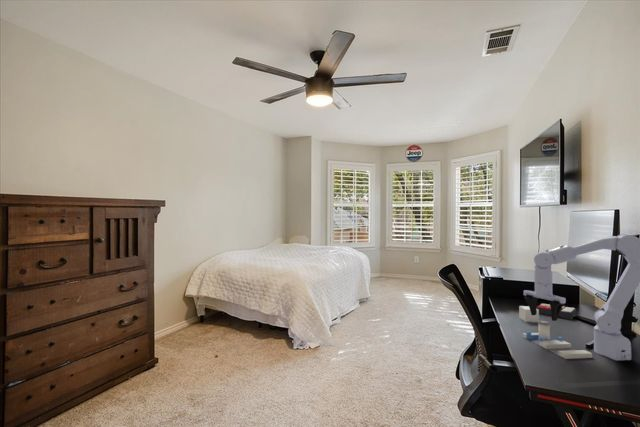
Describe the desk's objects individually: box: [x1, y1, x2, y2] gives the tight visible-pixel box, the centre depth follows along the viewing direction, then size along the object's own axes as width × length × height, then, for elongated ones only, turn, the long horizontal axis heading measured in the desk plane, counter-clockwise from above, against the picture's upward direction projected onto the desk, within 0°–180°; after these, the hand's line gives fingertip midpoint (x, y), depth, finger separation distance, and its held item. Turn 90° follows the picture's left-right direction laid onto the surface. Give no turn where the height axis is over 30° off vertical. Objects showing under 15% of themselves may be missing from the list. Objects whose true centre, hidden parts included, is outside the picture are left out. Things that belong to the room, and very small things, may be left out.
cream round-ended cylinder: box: [537, 320, 551, 340], centre depth 122 cm, size 4×4×8 cm
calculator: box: [537, 303, 578, 321], centre depth 161 cm, size 11×4×15 cm
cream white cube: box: [518, 305, 540, 323], centre depth 152 cm, size 6×6×6 cm
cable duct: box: [522, 331, 593, 360], centre depth 117 cm, size 20×10×4 cm, turn 5°
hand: (543, 317), depth 123 cm, fingers open, 7 cm apart
